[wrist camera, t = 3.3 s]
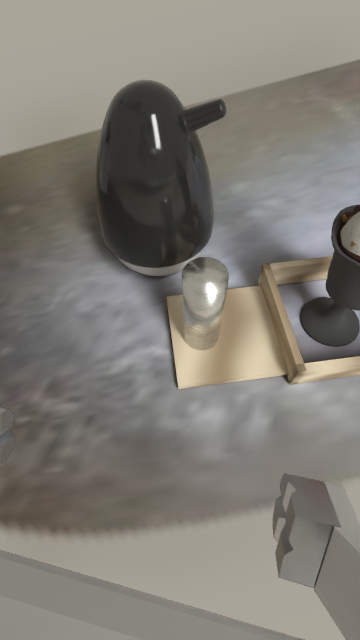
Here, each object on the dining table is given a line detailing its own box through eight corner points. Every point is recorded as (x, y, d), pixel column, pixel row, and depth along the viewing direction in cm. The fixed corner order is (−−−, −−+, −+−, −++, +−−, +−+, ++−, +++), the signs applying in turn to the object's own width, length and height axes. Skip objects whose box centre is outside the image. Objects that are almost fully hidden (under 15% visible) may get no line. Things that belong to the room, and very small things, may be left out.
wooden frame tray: (179, 398, 26) (176, 351, 19) (165, 292, 31) (158, 223, 24) (414, 367, 27) (497, 310, 20) (362, 269, 32) (412, 196, 25)
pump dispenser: (209, 297, 31) (225, 133, 18) (99, 289, 32) (38, 126, 19) (215, 219, 36) (230, 49, 23) (120, 214, 37) (84, 47, 24)
